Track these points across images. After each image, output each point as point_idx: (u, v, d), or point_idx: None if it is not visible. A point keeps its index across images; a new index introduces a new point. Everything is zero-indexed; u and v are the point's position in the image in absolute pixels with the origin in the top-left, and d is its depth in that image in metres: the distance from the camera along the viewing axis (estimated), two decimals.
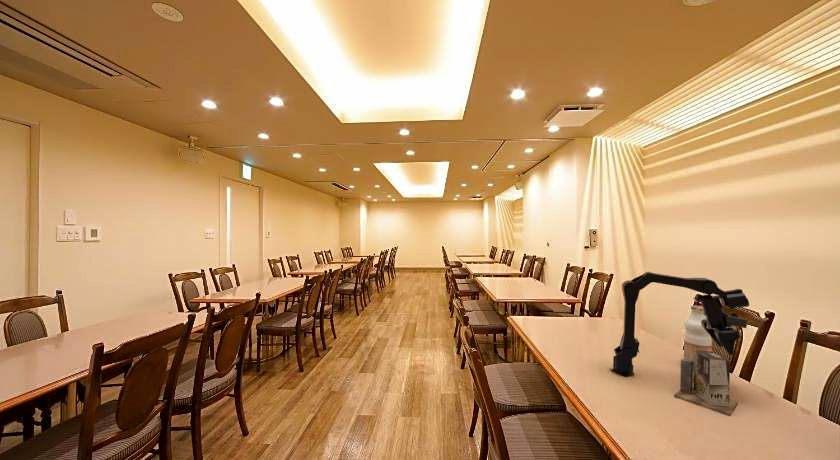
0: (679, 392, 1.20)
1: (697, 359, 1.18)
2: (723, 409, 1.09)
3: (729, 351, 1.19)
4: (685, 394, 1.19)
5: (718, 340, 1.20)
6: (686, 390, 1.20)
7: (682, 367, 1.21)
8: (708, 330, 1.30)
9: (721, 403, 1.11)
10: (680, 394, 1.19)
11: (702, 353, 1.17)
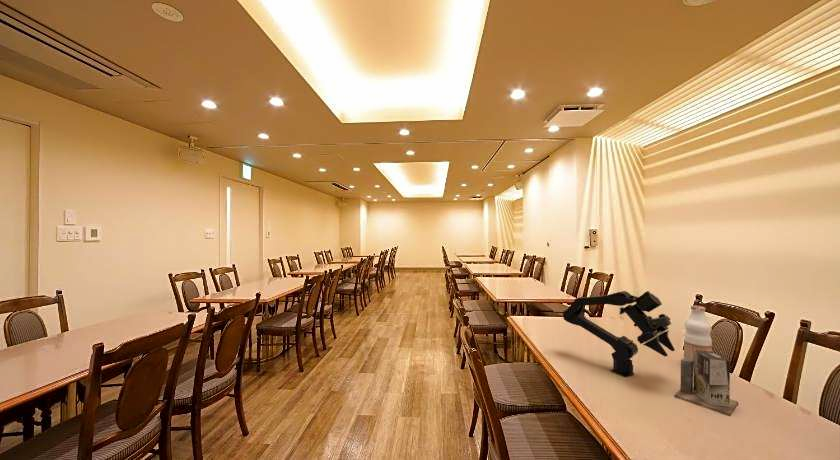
0: (679, 392, 1.20)
1: (697, 359, 1.18)
2: (723, 409, 1.09)
3: (662, 353, 1.23)
4: (685, 394, 1.19)
5: None
6: (686, 390, 1.20)
7: (682, 367, 1.21)
8: None
9: (721, 403, 1.11)
10: (680, 394, 1.19)
11: (702, 353, 1.17)
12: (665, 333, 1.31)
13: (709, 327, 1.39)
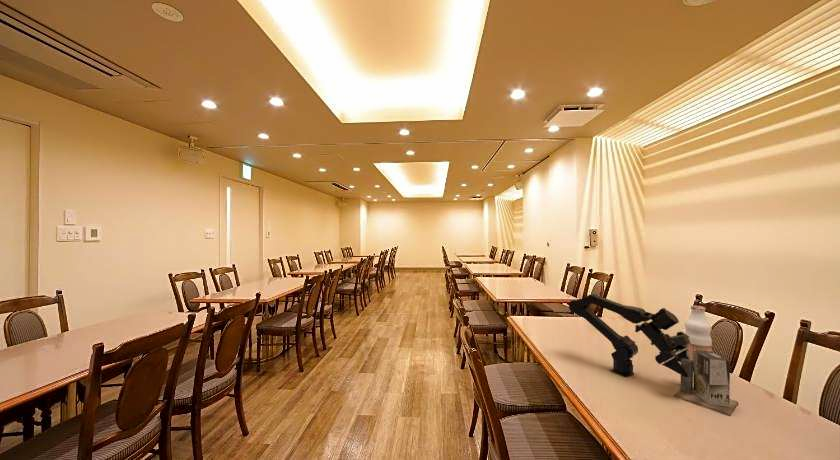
0: (679, 392, 1.20)
1: (697, 359, 1.18)
2: (723, 409, 1.09)
3: (682, 374, 1.18)
4: (685, 394, 1.19)
5: None
6: (686, 390, 1.20)
7: None
8: (675, 357, 1.28)
9: (721, 403, 1.11)
10: (680, 394, 1.19)
11: (702, 353, 1.17)
12: (684, 352, 1.25)
13: (709, 327, 1.39)
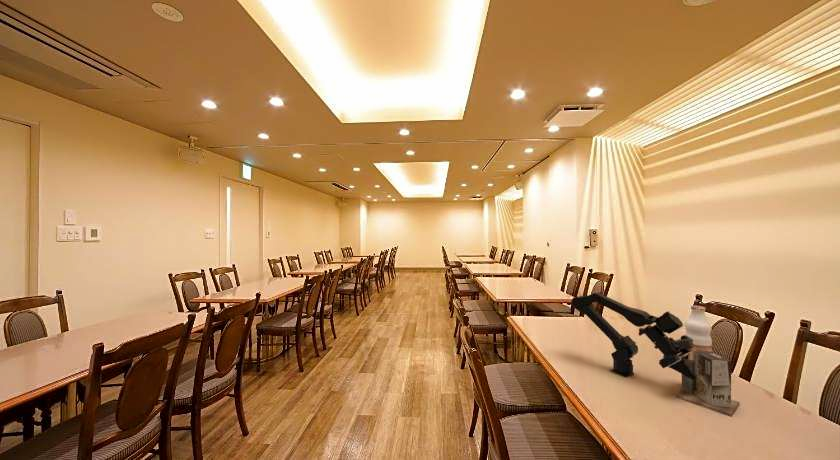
0: (680, 392, 1.20)
1: (698, 360, 1.17)
2: (725, 409, 1.09)
3: (688, 376, 1.18)
4: (686, 394, 1.18)
5: None
6: (687, 390, 1.19)
7: None
8: None
9: (723, 404, 1.10)
10: (681, 394, 1.18)
11: (703, 353, 1.17)
12: (686, 357, 1.23)
13: (709, 327, 1.39)
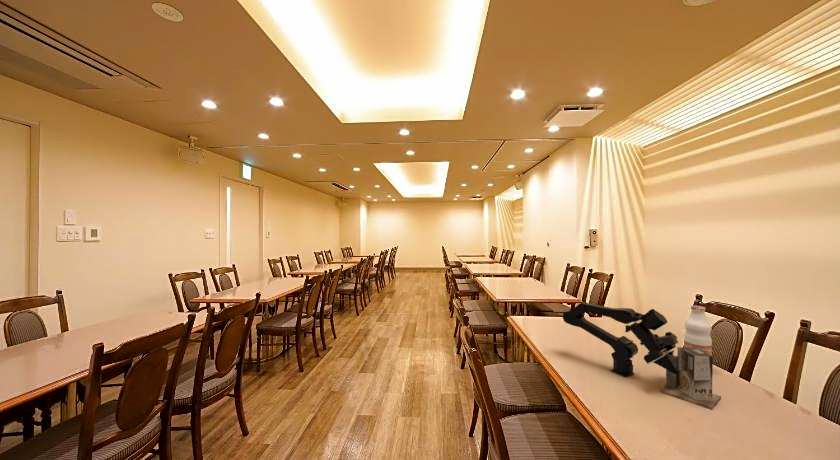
0: (665, 387, 1.24)
1: (681, 355, 1.21)
2: (706, 403, 1.13)
3: (672, 371, 1.22)
4: (670, 389, 1.22)
5: None
6: (671, 385, 1.23)
7: None
8: None
9: (705, 398, 1.14)
10: (665, 389, 1.22)
11: (686, 349, 1.21)
12: (670, 353, 1.27)
13: (709, 327, 1.39)
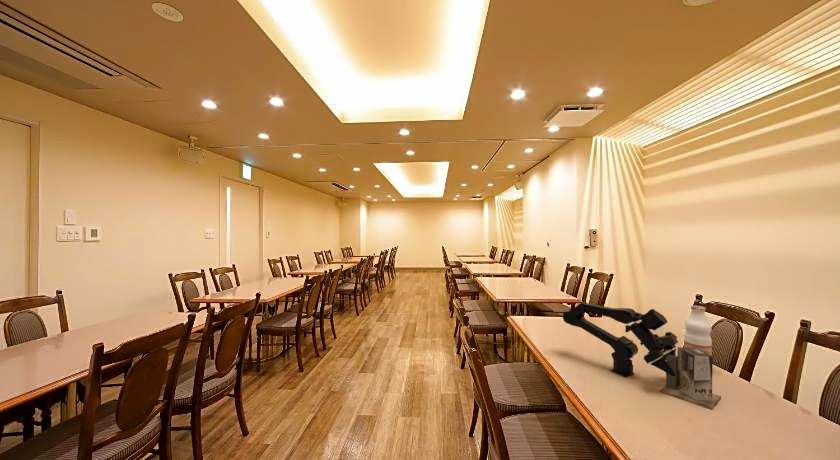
0: (664, 387, 1.24)
1: (681, 355, 1.21)
2: (706, 403, 1.13)
3: (669, 373, 1.21)
4: (670, 389, 1.22)
5: None
6: (671, 385, 1.23)
7: None
8: None
9: (705, 398, 1.14)
10: (665, 389, 1.22)
11: (686, 349, 1.21)
12: (673, 351, 1.28)
13: (709, 327, 1.39)
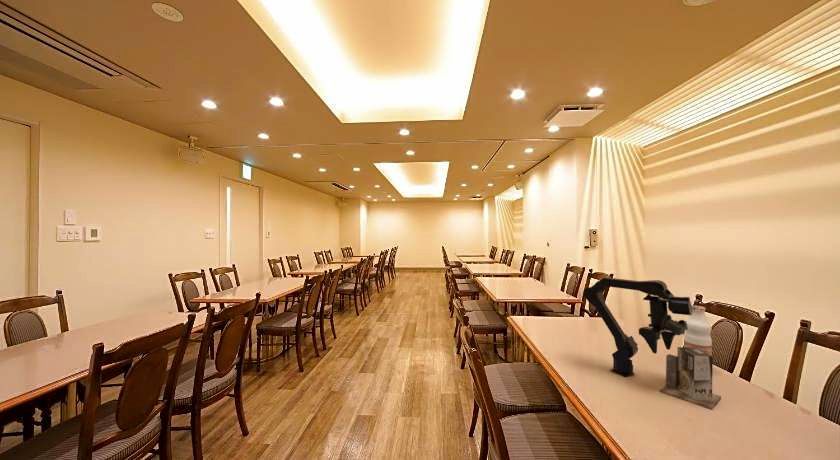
0: (664, 387, 1.24)
1: (681, 355, 1.21)
2: (706, 403, 1.13)
3: (652, 349, 1.26)
4: (670, 389, 1.22)
5: None
6: (671, 385, 1.23)
7: (667, 363, 1.24)
8: (661, 331, 1.33)
9: (705, 398, 1.14)
10: (665, 389, 1.22)
11: (686, 349, 1.21)
12: (673, 334, 1.29)
13: (709, 327, 1.39)
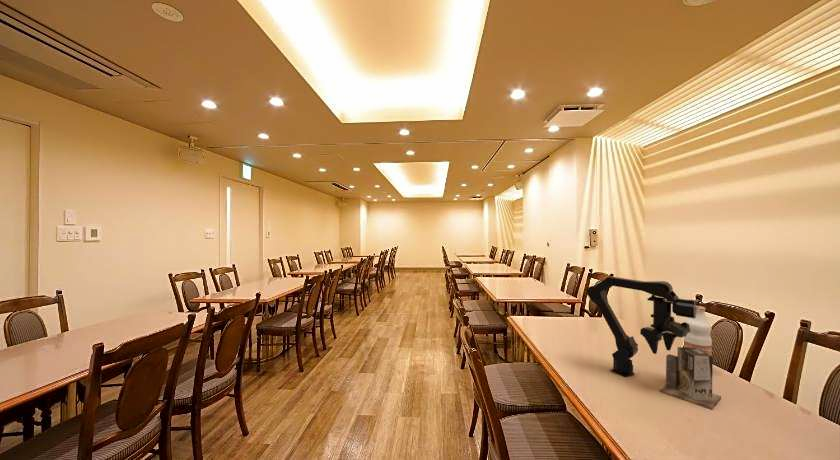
0: (664, 387, 1.24)
1: (681, 355, 1.21)
2: (706, 403, 1.13)
3: (652, 349, 1.26)
4: (670, 389, 1.22)
5: None
6: (671, 385, 1.23)
7: (667, 363, 1.24)
8: None
9: (705, 398, 1.14)
10: (665, 389, 1.22)
11: (686, 349, 1.21)
12: (674, 335, 1.28)
13: (709, 327, 1.39)
